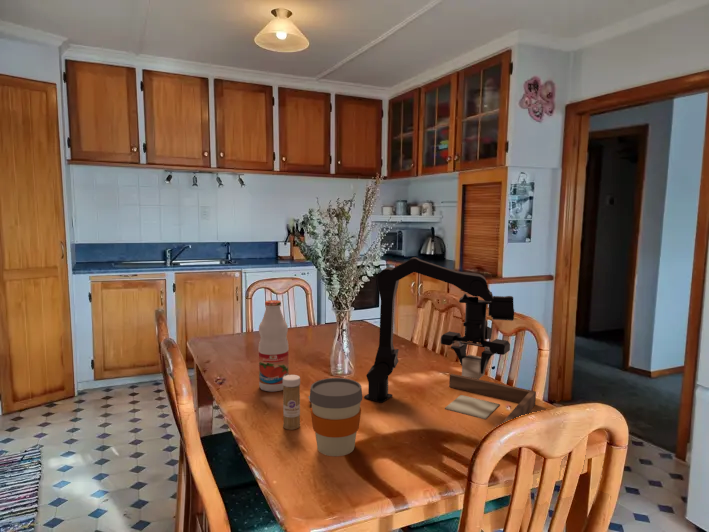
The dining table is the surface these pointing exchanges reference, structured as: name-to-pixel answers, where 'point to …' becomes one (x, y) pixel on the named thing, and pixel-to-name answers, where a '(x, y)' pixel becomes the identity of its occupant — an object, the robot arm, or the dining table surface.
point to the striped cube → (472, 367)
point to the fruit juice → (273, 348)
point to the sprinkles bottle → (291, 402)
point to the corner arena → (490, 389)
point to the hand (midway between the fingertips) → (473, 371)
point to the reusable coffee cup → (335, 414)
